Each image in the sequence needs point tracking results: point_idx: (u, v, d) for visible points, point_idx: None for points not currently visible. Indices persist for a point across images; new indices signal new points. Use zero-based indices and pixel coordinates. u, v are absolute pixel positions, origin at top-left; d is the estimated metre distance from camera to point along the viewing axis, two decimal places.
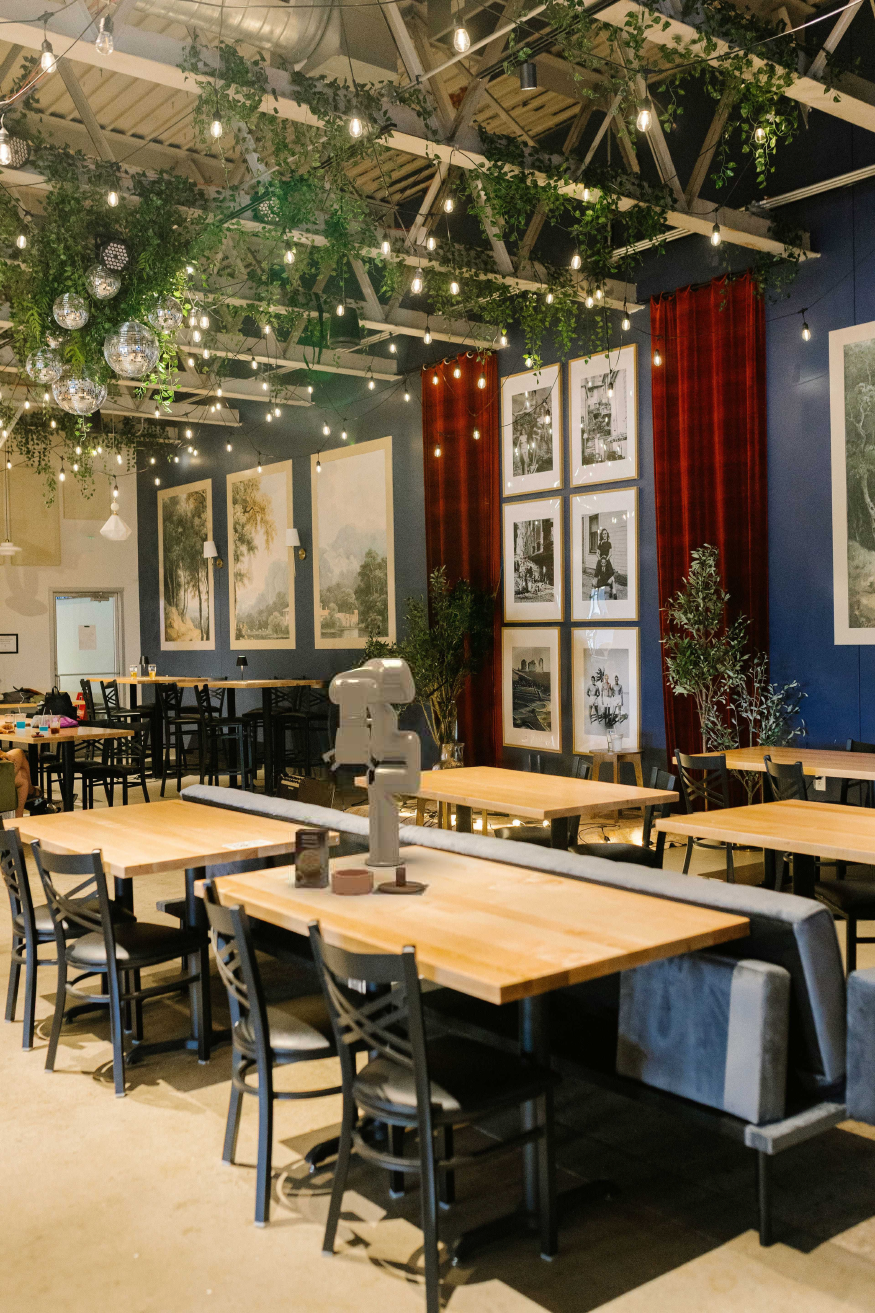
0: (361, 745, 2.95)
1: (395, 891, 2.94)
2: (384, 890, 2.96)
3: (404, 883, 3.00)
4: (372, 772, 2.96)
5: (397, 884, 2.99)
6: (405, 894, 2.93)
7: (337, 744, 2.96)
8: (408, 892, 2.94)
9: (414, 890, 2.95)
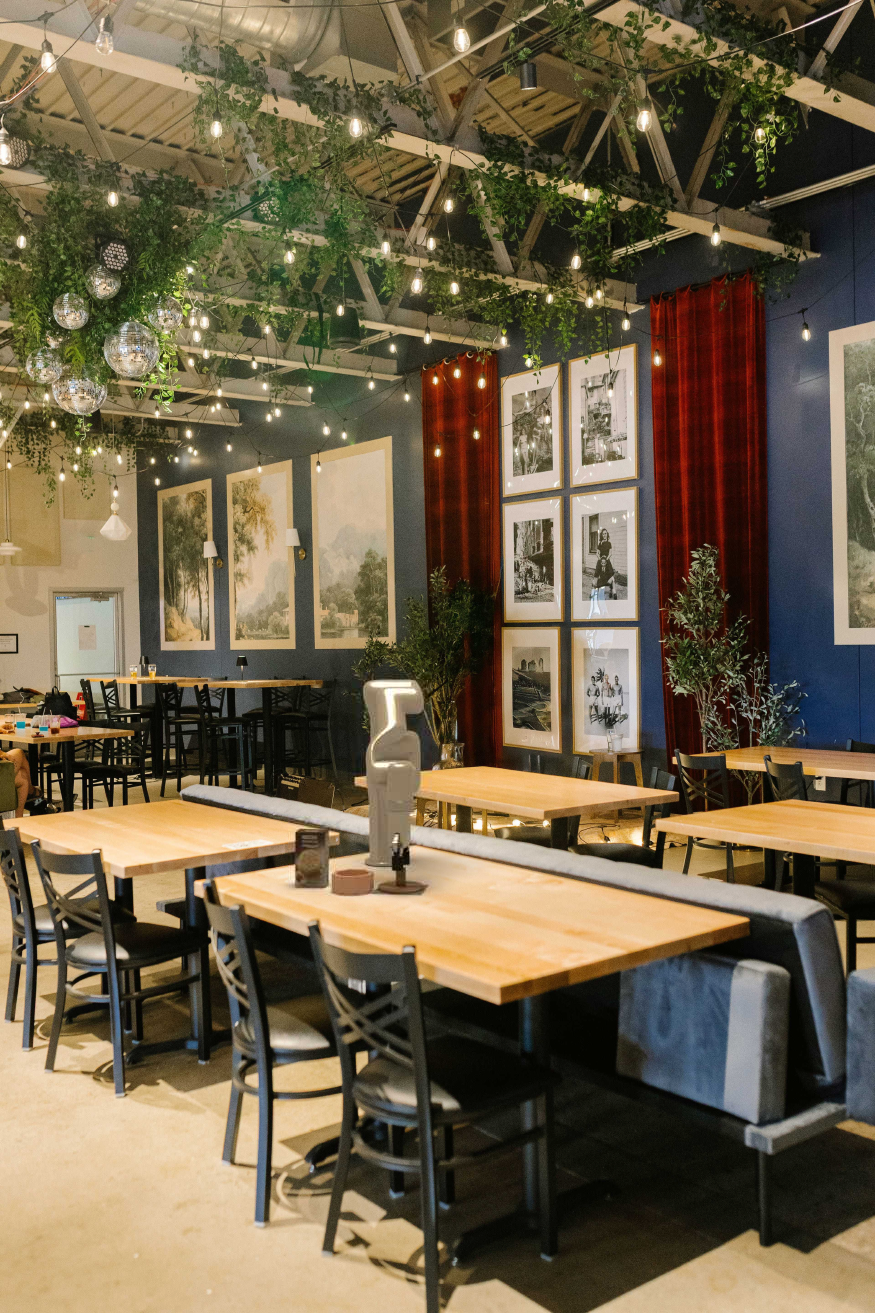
0: (410, 827, 3.02)
1: (395, 891, 2.94)
2: (384, 890, 2.96)
3: (404, 883, 3.00)
4: None
5: (397, 884, 2.99)
6: (405, 894, 2.93)
7: (405, 829, 2.96)
8: (408, 892, 2.94)
9: (414, 890, 2.95)
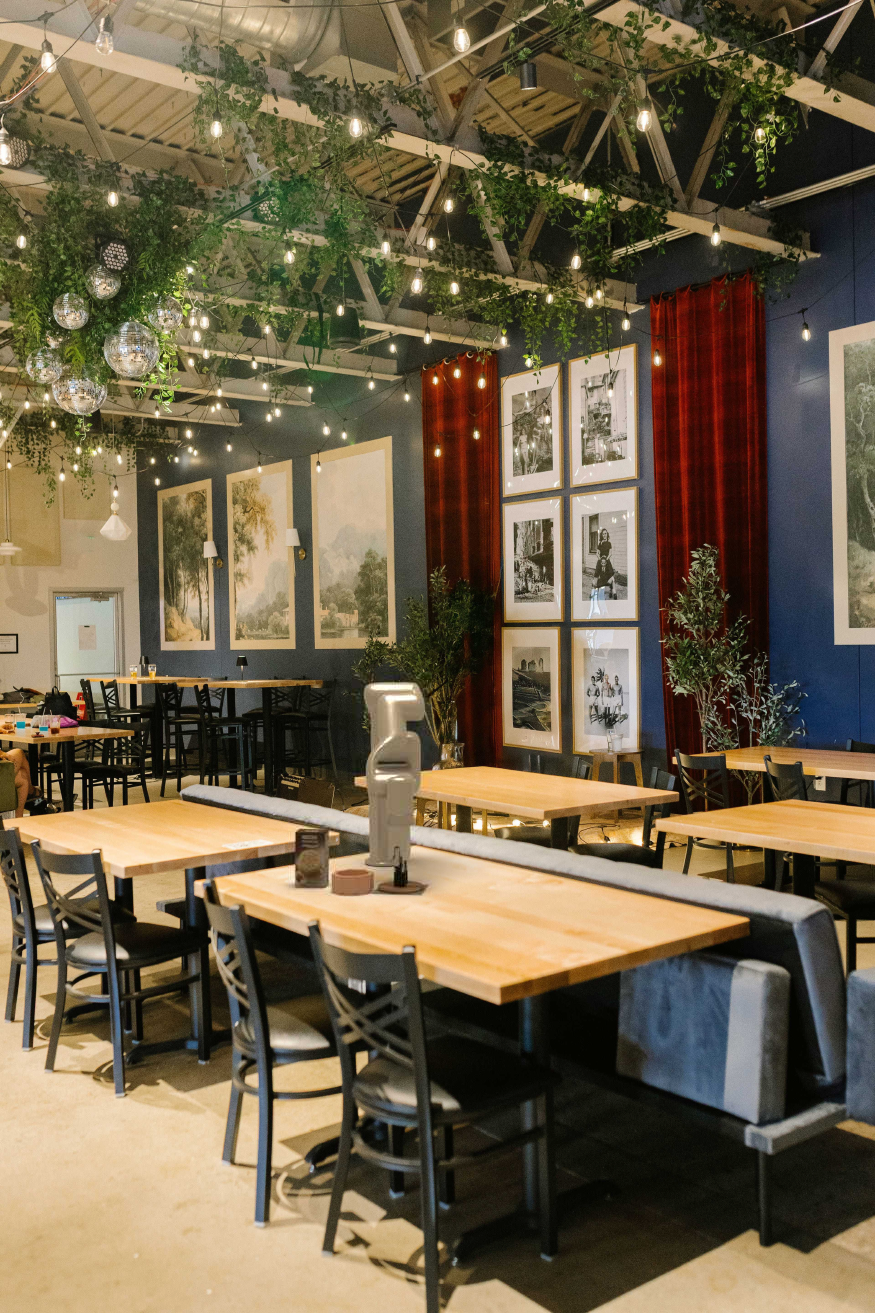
0: (410, 840, 3.03)
1: (395, 891, 2.94)
2: (384, 890, 2.96)
3: None
4: None
5: None
6: (405, 894, 2.93)
7: (404, 843, 2.96)
8: (408, 892, 2.94)
9: (414, 890, 2.95)
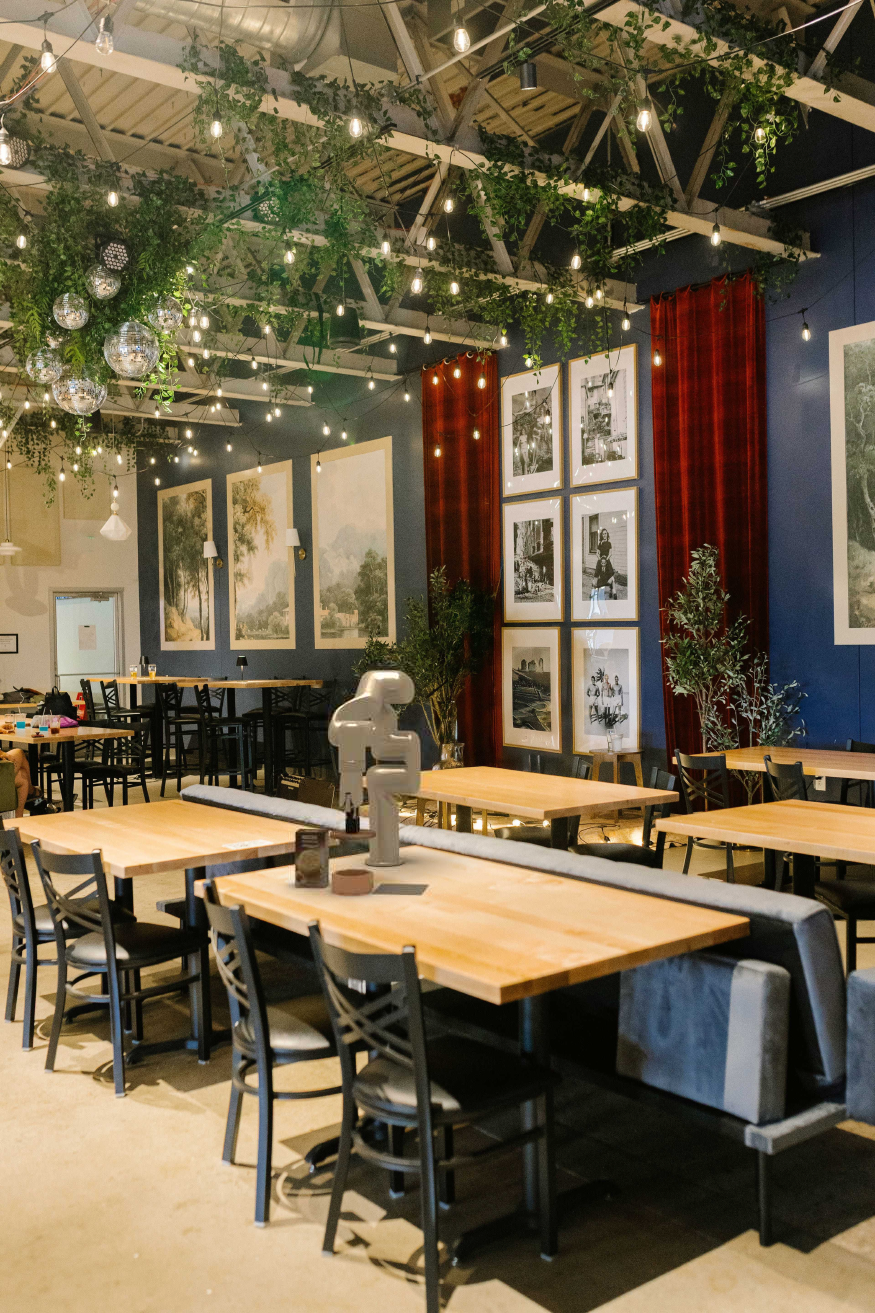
0: (362, 787, 3.01)
1: (346, 837, 2.92)
2: (335, 836, 2.94)
3: None
4: None
5: None
6: (405, 894, 2.93)
7: (356, 789, 2.94)
8: (359, 838, 2.93)
9: (365, 836, 2.94)
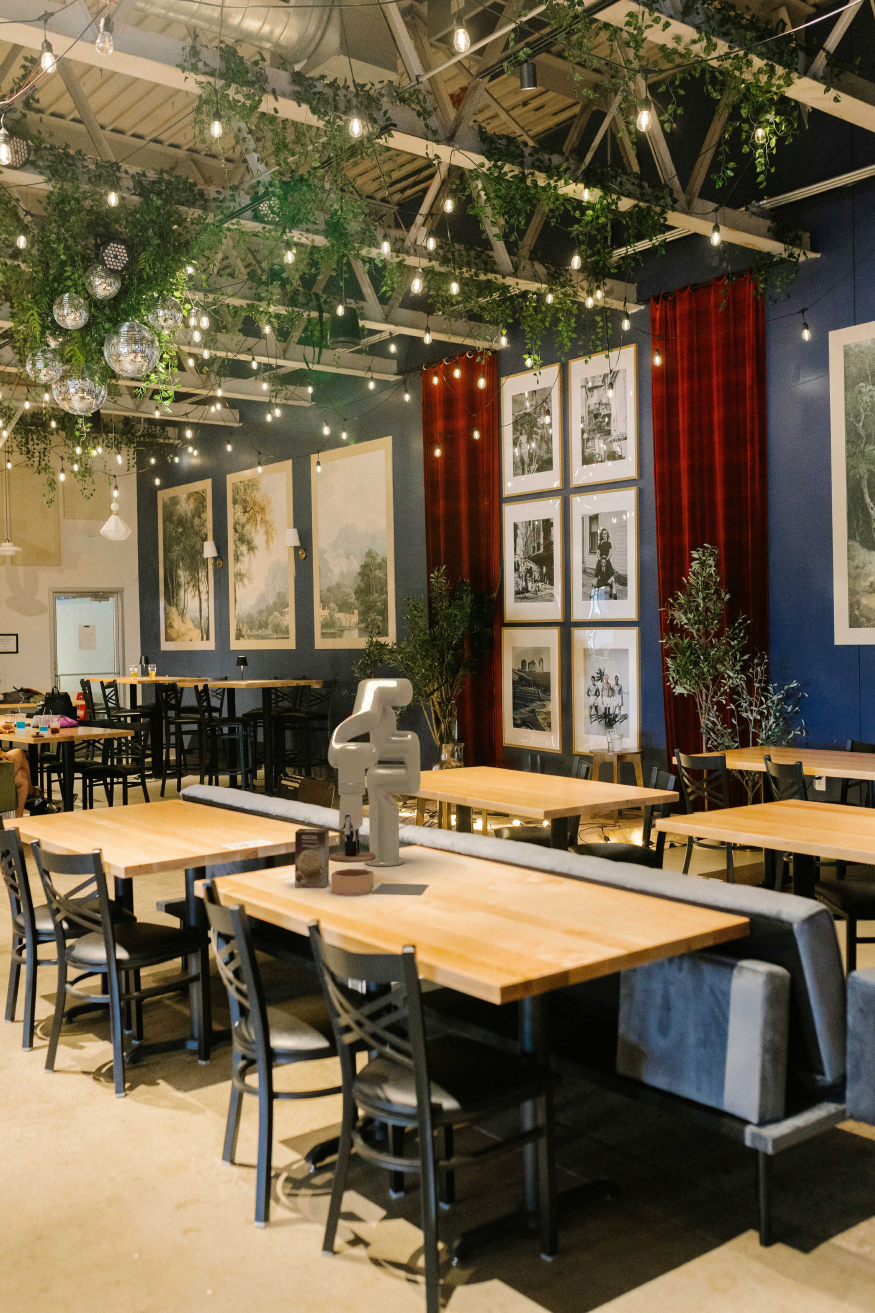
0: (362, 809, 3.01)
1: (345, 859, 2.92)
2: (335, 859, 2.94)
3: None
4: None
5: None
6: (405, 894, 2.93)
7: (355, 811, 2.94)
8: (359, 860, 2.92)
9: (365, 859, 2.93)
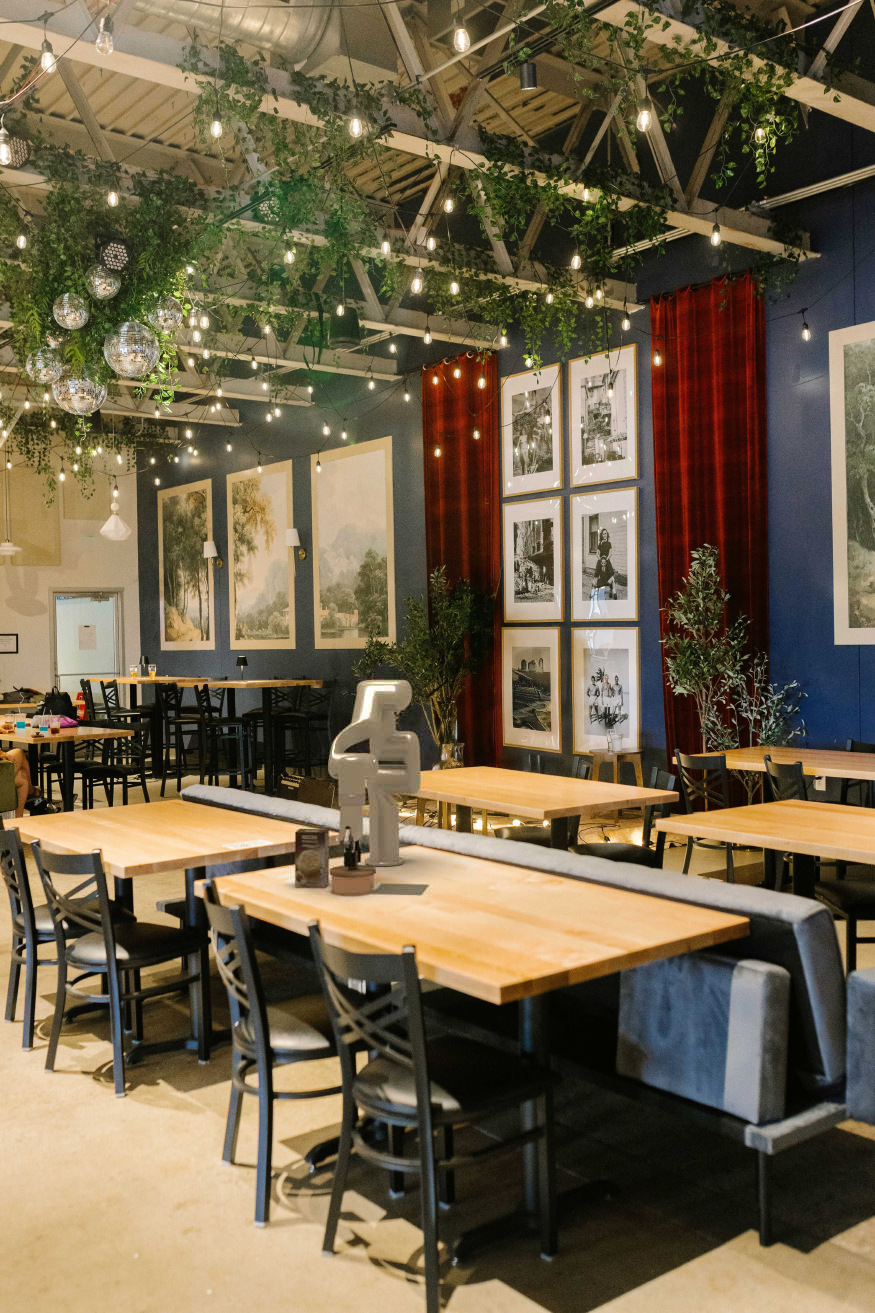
0: (362, 820, 3.01)
1: (346, 874, 2.92)
2: (335, 873, 2.94)
3: (356, 867, 2.98)
4: None
5: (349, 868, 2.98)
6: (405, 894, 2.93)
7: (355, 823, 2.94)
8: (359, 875, 2.93)
9: (365, 873, 2.93)
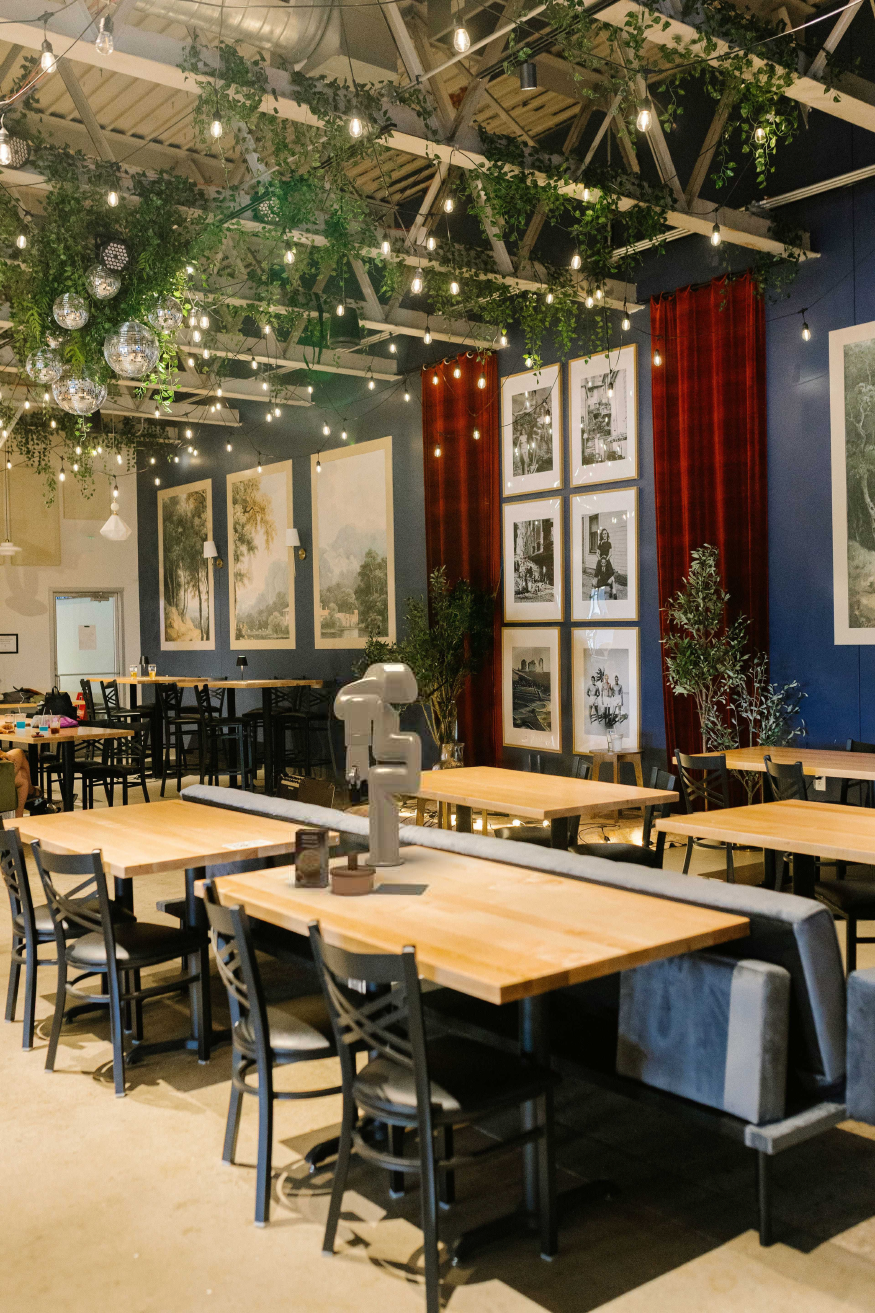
0: (368, 760, 3.06)
1: (346, 874, 2.92)
2: (335, 873, 2.94)
3: (356, 867, 2.98)
4: None
5: (349, 868, 2.98)
6: (405, 894, 2.93)
7: (362, 762, 3.00)
8: (359, 875, 2.93)
9: (365, 873, 2.93)
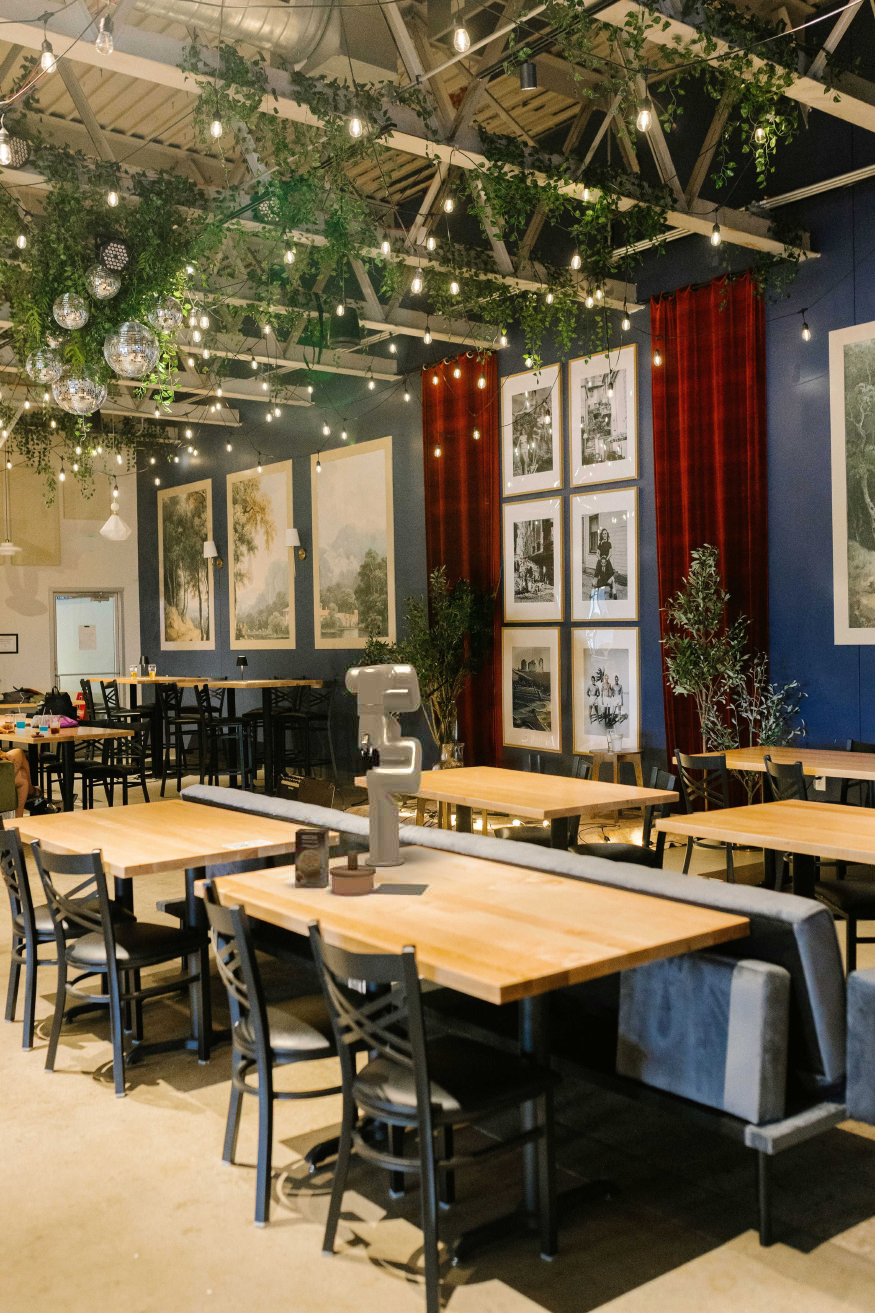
0: (380, 730, 3.16)
1: (346, 874, 2.92)
2: (335, 873, 2.94)
3: (356, 867, 2.98)
4: None
5: (349, 868, 2.98)
6: (405, 894, 2.93)
7: (374, 730, 3.10)
8: (359, 875, 2.93)
9: (365, 873, 2.93)
